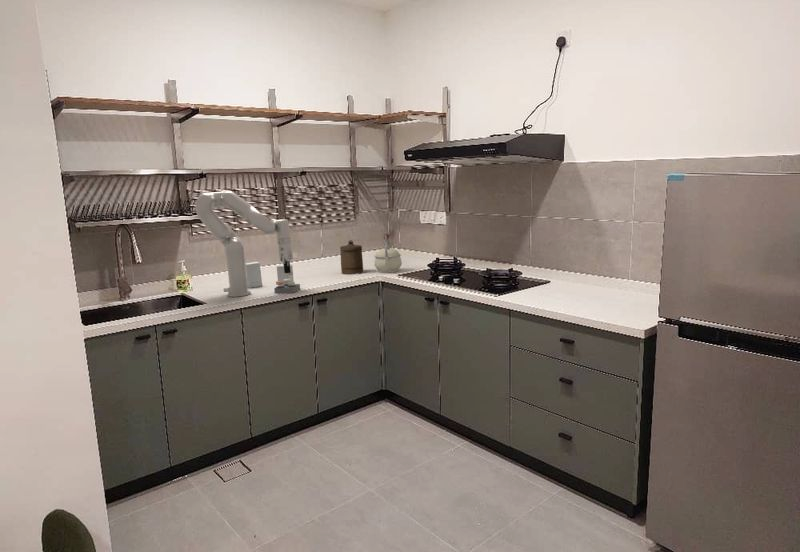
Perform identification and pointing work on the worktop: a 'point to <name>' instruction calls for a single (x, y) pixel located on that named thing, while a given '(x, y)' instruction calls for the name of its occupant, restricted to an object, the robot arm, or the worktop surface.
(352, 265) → the wooden container
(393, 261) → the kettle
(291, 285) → the sage button
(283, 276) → the supplement box
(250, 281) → the skincare box
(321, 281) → the worktop surface
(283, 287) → the button panel
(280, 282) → the terracotta button
